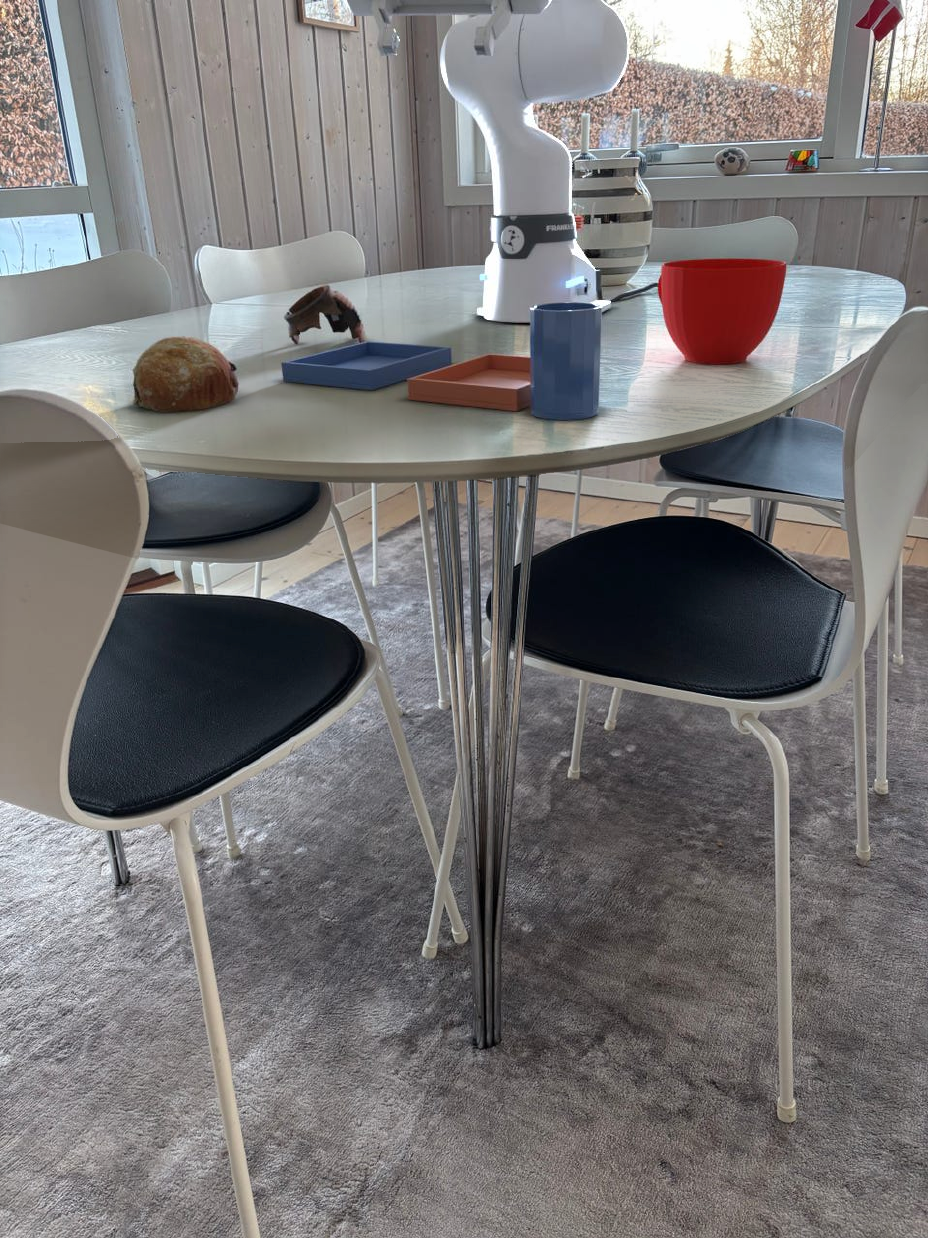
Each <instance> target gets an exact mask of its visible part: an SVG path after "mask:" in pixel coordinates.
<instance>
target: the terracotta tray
mask: <svg viewBox="0 0 928 1238" xmlns="http://www.w3.org/2000/svg"><path fill="white" fill-rule="evenodd" d="M407 393H408V400H409V401H417V402H426V403H435V404H446V405H455V406H463V407H471V408H472V407H474V408H481V409H483V408H484V409H490V410H491V409H492V410H502V411H510V412H519V411H521V410H524V409H525V408H526V409H527V408H528V407H530V356H529V355H528V356H526V355H513V354H502V353H501V354H500V353H499V354H498V353H485V354H482V355H479V356H476V357H472V358H469V359H466V360H463V361H460V362H457V363H452V365H450V366H447V367H444V368H441V369H437V370H434V371H431V372H428V373H425V374H421V375H418V376H415V377H412V378H409V379H407Z"/></svg>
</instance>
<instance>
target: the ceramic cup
mask: <svg viewBox="0 0 928 1238" xmlns="http://www.w3.org/2000/svg"><path fill="white" fill-rule="evenodd" d="M660 271H661V272H660V276H659V278H658V281H657V282H658V287H657V294H658V298H659V301H660V304H661V307H662V315H663V319H664V323H665V326H666V329H667V333H668V335H669V336H670V339H671V340H672V342H673V344H674V345H675V346H676V348H677V350H678V351H679V352H680V353H681V354H682V355H683V357H684V359H685V360H686V361H688V362H691V363H697V364H705V365H706V364H707V365H727V364H728V365H729V364H739V363H742V362H745V361H747V358H748V357H749V356H750V355H751V354H752V353H753V352H754V351H755V350H756V349H757V348H758V347H759V346H760V345H761V344H762V342H763V341H764V339H765V338H766V336H767V335H768V333H769V332H770V330H771V328H772V326H773V324H774V322H775V320H776V317H777V314H778V311H779V308H780V304H781V301H782V297H783V291H784V287H785V281H786V274H787V263H786V262H785V261H781V260H775V259H763V258H699V259H683V260H674V261H668V262H663V263H662V264H661V269H660Z"/></svg>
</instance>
